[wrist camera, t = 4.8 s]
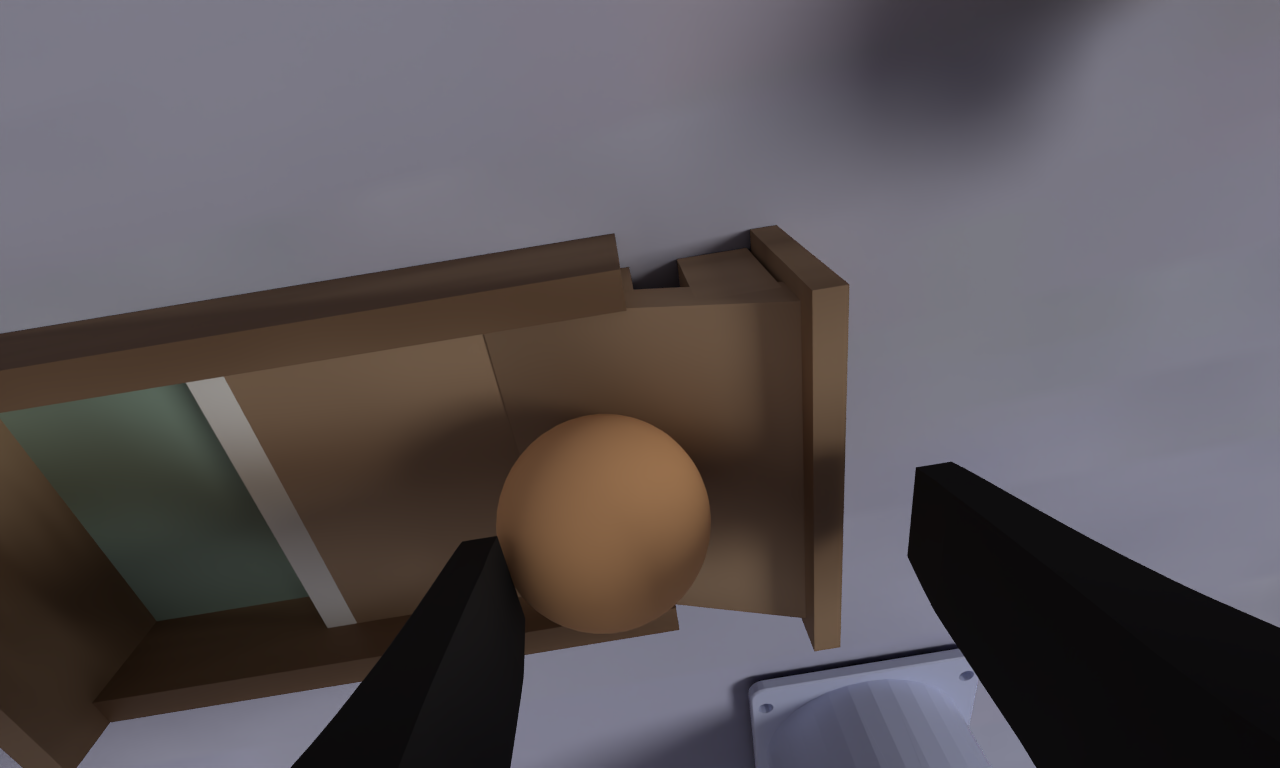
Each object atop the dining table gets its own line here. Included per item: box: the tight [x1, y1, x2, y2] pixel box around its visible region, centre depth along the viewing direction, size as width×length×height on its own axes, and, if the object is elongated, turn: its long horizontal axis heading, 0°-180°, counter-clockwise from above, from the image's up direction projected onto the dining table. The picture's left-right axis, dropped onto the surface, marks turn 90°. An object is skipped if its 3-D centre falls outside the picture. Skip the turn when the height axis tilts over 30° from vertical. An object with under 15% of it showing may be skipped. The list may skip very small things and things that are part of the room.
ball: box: [496, 414, 711, 634], centre depth 11 cm, size 4×4×4 cm
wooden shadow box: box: [0, 225, 849, 768], centre depth 13 cm, size 10×19×4 cm, turn 98°
